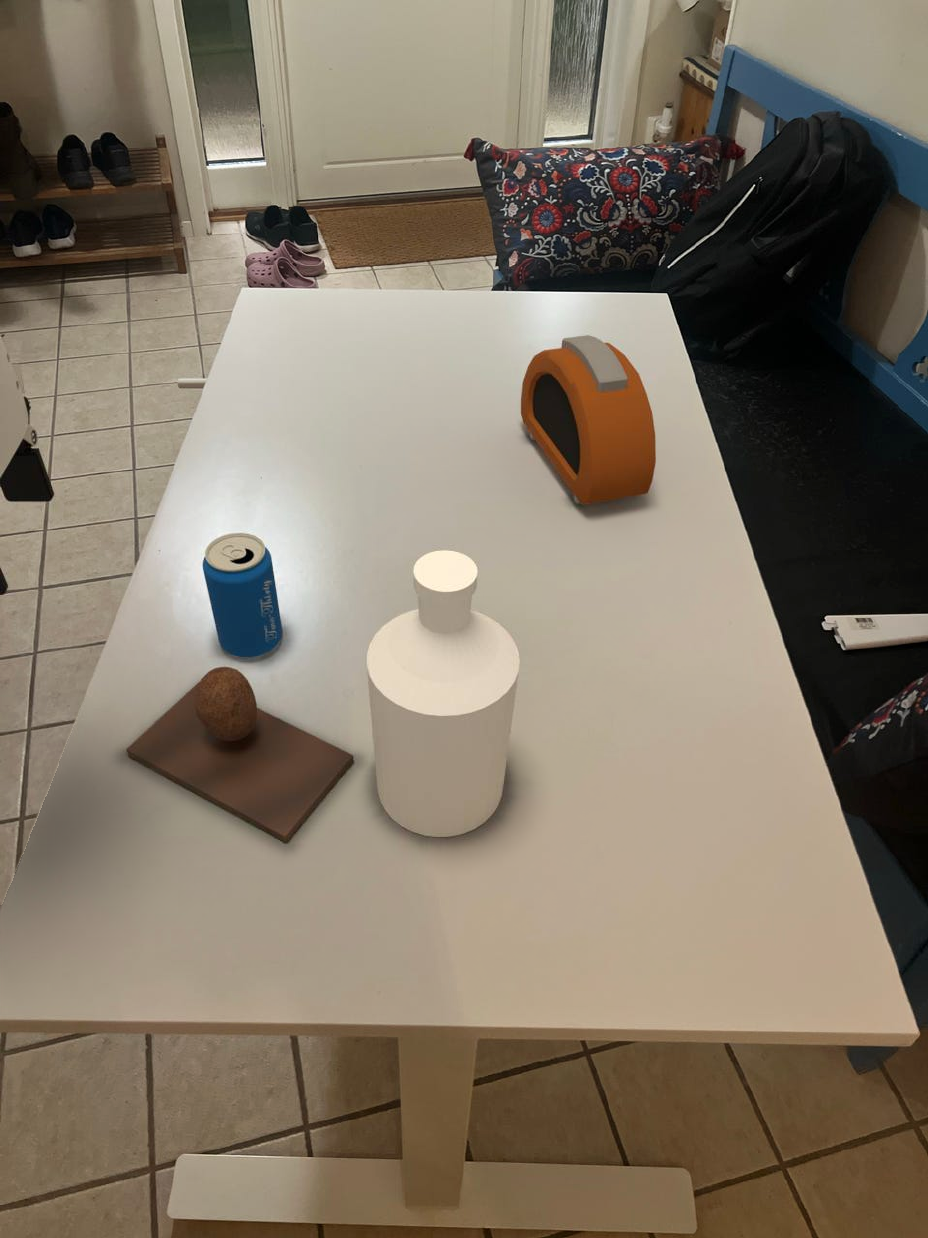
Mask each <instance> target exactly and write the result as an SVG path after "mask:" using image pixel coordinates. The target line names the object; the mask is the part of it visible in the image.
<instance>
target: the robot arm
mask: <svg viewBox="0 0 928 1238" xmlns="http://www.w3.org/2000/svg"><path fill="white" fill-rule="evenodd" d="M25 394H26V391H25V384H24V377H23V370H22V366H21V364H20V363H12V361H11V357H10V355H9V353H8V350H7V348H6V345H5V343H4V341H3V339H2V336H1V335H0V489H1V491H2V494H3V497H4V499H5V500H6V501H7V502H9V503H39V502H40V503H47V502H51V501H52V500H53V498H54V496H55V491H54V487H53V486H52V483H51V479H50V477H49V474H48V471H47V468H46V465H45V461H44V460H43V457H42V453H41V451H40V448H39V447H37V445H38V444H39V443H38V442H39V436H38V432H37V430H36V428H34V427H33V426H32V425H31V424H30V423H31V422H30V417H31V416H30V414H31V412H30V411H31V409H32V406H30V404H31V402H30V401H29V399H28V398H27V396H25ZM8 589H9V584H8V582H7V580H6V577H5V575H4V573H3V571H2V568H1V567H0V596H3V595H5V594H6V593H7V591H8Z"/></svg>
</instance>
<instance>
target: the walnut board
mask: <svg viewBox="0 0 928 1238" xmlns="http://www.w3.org/2000/svg"><path fill="white" fill-rule="evenodd" d="M199 683H200V681H198V682H197V683H196V684H195V685H194V686H193V687H192V688H191V689H189V690H188V692H186V693H185V694H184V695H183V696H182V697H181V698H180V699H179V700H177V702H176V703H174V705H172V707H170V708H169V709H168V710H167V711H166V712H165V713H164V714H163V715H162V716H161V717H159V718H158V719H157V720H156V721H155V722H154V723H153V724H152V725H151V726H150V727H149V728H147V730H146V731H144V732H143V733H142V734H141V735H140V736H139V737H138V738H136V740H135V741H133V743H131V744H130V745H129V746H128V747H127V748H126V750H125V751H126V753H127V756H128V758H131V759H133V760H135V761H136V762H138V763H140V764H142V765H144V766H146V767H147V768H149V769H151V770H153V771H155V772H157V773H158V774H160V775H162V776H164V777H166V778H167V779H169V780H171V781H173V782H174V783H177V784H178V785H180V786H182V787H184V788H185V789H187V790H189V791H191V792H193V793H194V794H196V795H198V796H200V797H202V798H203V799H206V800H207V801H209V802H211V803H212V804H214V805H216V806H218V807H220V808H222V809H224V810H226V811H227V812H229V813H231V814H233V815H234V816H236V817H238V818H240V819H241V820H244V821H245V822H247V823H249V824H251V825H253V826H254V827H256V828H258V829H259V830H262V831H263V832H265V833H267V834H268V835H270V836H273V837H274V838H276V839H278V840H280V841H281V842H282V843H285V844H287V843H288V842H289V841H290V840H291V838H292V837H293V836H294V834H296V832H297V831H298V830H299V829H300V828H301V826H302V825H303V824H304V823H305V822H306V820H307V819H308V818H309V816H310V815H311V814H312V813H313V812H314V811H315V810H316V809H317V807H318V806H319V804H320V803H321V802H322V801H323V800H324V798H325V797H326V796H327V795H328V794H329V792H330V791H331V790H332V789H333V787H334V786H335V785H336V784H337V783H338V782H339V780H340V779H341V778H342V776H343V775H344V774H345V773H346V772H347V770H348V769H349V768H350V767H351V766H352V765H353V763H354V762H355V761H354V760H355V759H354V755H353V754H351V753H349V752H347V751H345V750H343V749H342V748H339V747H337V746H335V745H333V744H331V743H329V742H327V741H325V740H323V739H321V738H319V737H317V736H315V735H313V734H312V733H309V732H307V731H305V730H303V729H300V728H299V727H297V726H295V725H293V724H291V723H289V722H287V721H284V720H283V719H280V718H278V717H277V716H274V715H273V714H270V713H269V712H267V711H264V710H262V709H260V708H258V707H257V721H256V724H255V727H254V729H253V730H252V731H251V732H250V733H249V734H248V735H247V736H245V737H244V738H242V739H240V740H237V741H226V740H221V739H219V738H217V737H216V736H215V735H213V734H212V733H211V732H210V731H209V730H208V729H207V728H206V727H205V726H204V725H203V723H202V722H201V721H200V719H199V718H198V717H197V714H196V694H197V688H198V685H199Z"/></svg>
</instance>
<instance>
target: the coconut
mask: <svg viewBox="0 0 928 1238" xmlns="http://www.w3.org/2000/svg"><path fill="white" fill-rule="evenodd" d="M199 682H200V683H199ZM199 682H198V683H199V685H198V688H197V694H196V714H197V717H198V718H199V719H200V721H201V722H202V723H203V725H204V726H205V727H206V728H207V729H208V730H209V731H210V732H211V733H212V734H213V735H215V736H216V737H217V738H219V739H221V740H226V741H237V740H240V739H242V738H244V737H245V736H247V735H248V734H249V733H250V732H251V731H252V730H253V729H254V727H255V724H256V721H257V708H258V705H257V700H256V696H255V692H254V689H253V688H252V686H251V684H250V682H249V680H248V678H247V677H246V676H245V675H244V674H243V673H242V672H241V671H239V669H236V668H233V667H230V666H219V667H218V666H217V667H215V668H212V669H211V670H209V671H207V673H206V674H204V676H203V677H202V678H200V680H199Z"/></svg>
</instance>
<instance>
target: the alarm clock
mask: <svg viewBox="0 0 928 1238" xmlns="http://www.w3.org/2000/svg"><path fill="white" fill-rule="evenodd" d="M520 395H521V396H520V417H521V420H522V423H523V424H524V426H525V427H526V429H527V430H528V432H529V438H530V439H531V440H532V441H535V442H536V443H537V445H538V446H539V447H540V449H541V450H542V452H543V453H544V454H545V456H546V457H547V459H548V460H549V461H550V462H551V464H552V465H553V467H554V468H555V470H556V471H557V473H558V474H559V475H560V477H561V478H562V480H563V481H564V483H565V484H566V486H567V487H568V488H569V489H570V491H571V492H572V494H573V501H574V502H575V504H577V505H578V504H580V505H586V506H587V505H590V504H591V505H592V504H596V503H602V502H609V501H613V500H619V499H620V500H621V499H625V498H631V497H636V496H641V495H643V496H644V495H646V494H648V493H649V491H650V488H651V487H652V483H653V481H654V474H655V469H656V463H657V455H656V453H657V451H656V449H657V448H656V447H657V446H656V431H655V430H656V429H655V424H654V416H653V410H652V407H651V404H650V400H649V397H648V394H647V392H646V389H645V386H644V384H643V381H642V379H641V376H640V373H639V372H638V371H637V369H636V368H635V367H634V365H633V364H632V363H631V361H630V360H629V359H628V358H627V356H626V355H625V354H624V353H623V352H622V351H620V349H618V348H616V347H615V346H614V345H612V344H611V343H610V342H603V340H601V339H599V338H598V337H596V336H594V335H593V336H592V335H588V334H586V335H578V336H571V337H570V336H569V337H563V339H562V340H561V347H559V348H550V349H543V350H542V351H540V352H539V353H537V354H535V355H533V357H532V359H531V360H530V362H529V364H528V366H527V368H526V371H525V373H524V378H523V380H522V385H521V394H520Z"/></svg>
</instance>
